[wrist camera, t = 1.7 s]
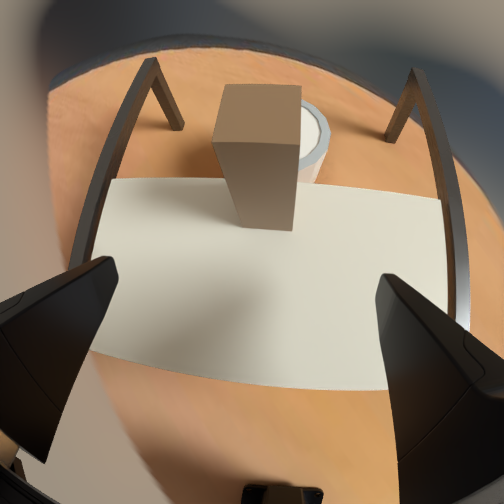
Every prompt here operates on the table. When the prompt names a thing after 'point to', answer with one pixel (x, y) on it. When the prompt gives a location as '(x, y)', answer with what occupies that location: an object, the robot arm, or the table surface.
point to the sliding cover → (261, 260)
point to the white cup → (312, 142)
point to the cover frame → (433, 127)
